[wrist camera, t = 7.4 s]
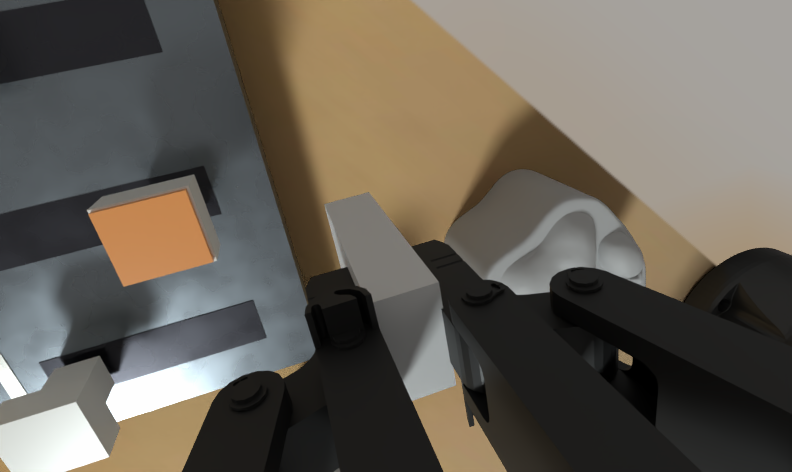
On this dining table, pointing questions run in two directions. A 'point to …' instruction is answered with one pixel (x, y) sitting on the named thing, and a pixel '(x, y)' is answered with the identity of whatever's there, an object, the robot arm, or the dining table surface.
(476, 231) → the lumpy-topped squat cylinder
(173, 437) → the dining table surface
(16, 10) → the panel
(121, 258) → the block
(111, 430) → the breaker
